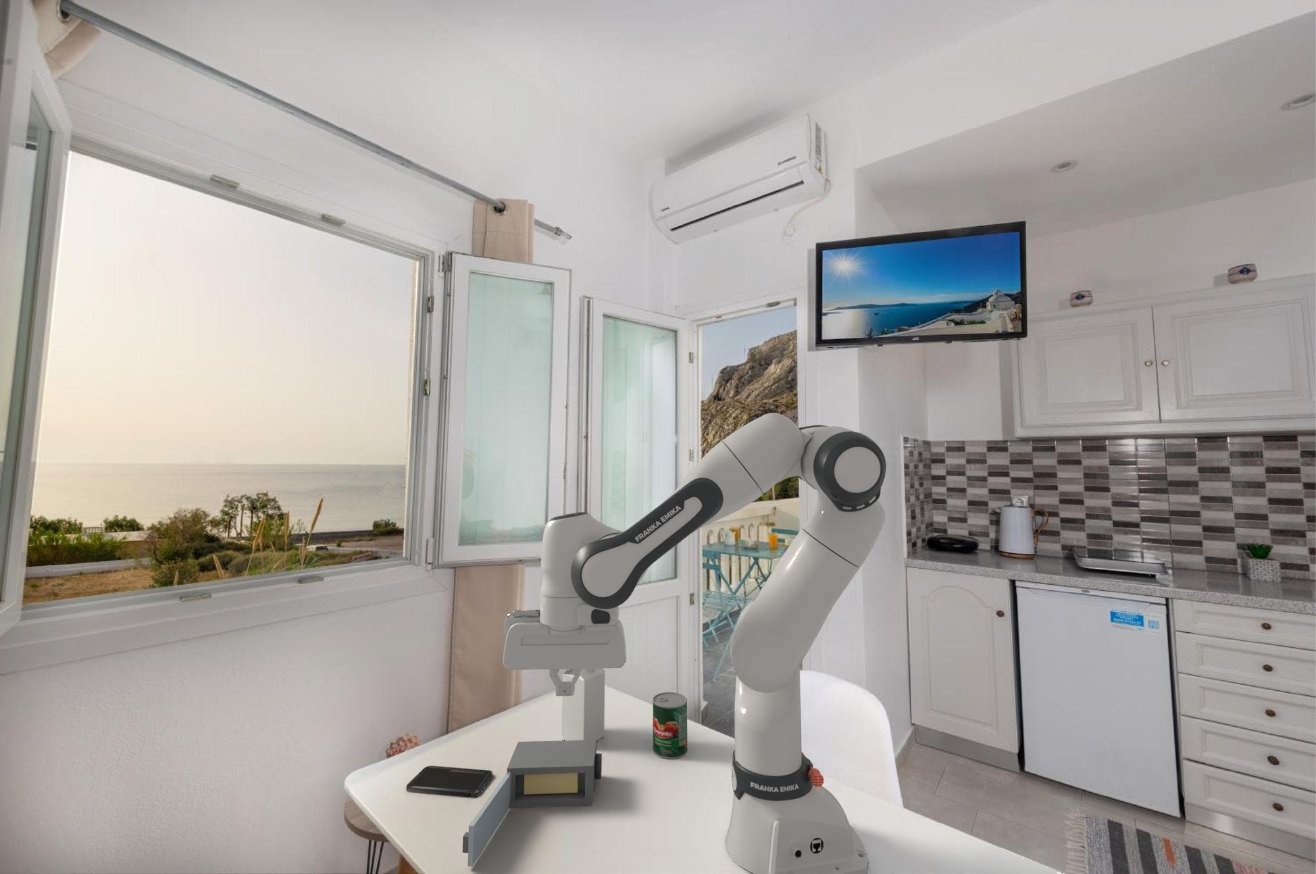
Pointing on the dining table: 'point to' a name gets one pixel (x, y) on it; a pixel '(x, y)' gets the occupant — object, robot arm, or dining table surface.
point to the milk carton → (584, 706)
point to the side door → (487, 820)
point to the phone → (450, 781)
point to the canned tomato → (670, 725)
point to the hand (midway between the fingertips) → (565, 694)
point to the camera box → (554, 773)
